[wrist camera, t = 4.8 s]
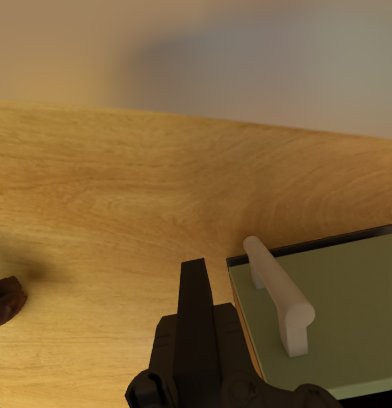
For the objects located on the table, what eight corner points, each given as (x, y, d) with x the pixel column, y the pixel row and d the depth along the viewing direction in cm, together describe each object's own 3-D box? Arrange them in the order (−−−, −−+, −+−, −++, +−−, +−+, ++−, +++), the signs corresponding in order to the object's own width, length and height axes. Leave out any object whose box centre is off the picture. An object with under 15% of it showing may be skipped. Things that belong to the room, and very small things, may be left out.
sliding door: (221, 230, 17) (262, 334, 7) (402, 192, 16) (701, 248, 7) (229, 274, 18) (274, 412, 8) (398, 239, 18) (648, 344, 8)
